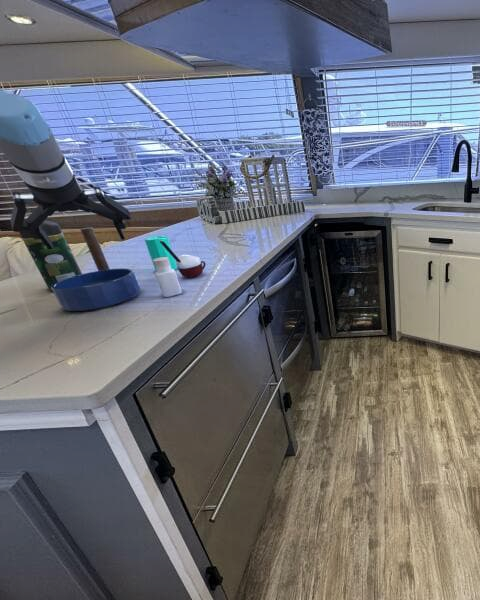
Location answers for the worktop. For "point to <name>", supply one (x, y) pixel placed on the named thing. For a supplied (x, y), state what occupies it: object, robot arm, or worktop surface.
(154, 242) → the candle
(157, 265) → the salt shaker
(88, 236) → the brown wooden pestle
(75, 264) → the coffee jar
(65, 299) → the bowl
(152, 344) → the worktop surface
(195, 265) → the cocoa
